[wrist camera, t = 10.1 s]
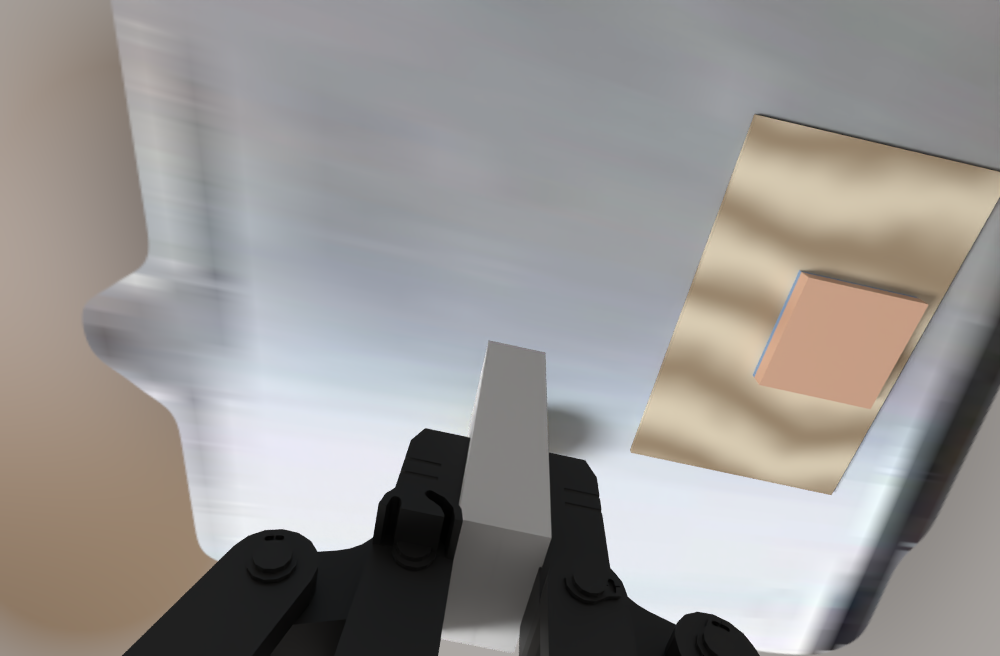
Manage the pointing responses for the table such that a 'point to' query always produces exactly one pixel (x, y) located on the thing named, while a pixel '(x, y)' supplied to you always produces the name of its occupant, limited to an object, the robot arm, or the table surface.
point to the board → (770, 276)
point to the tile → (837, 339)
